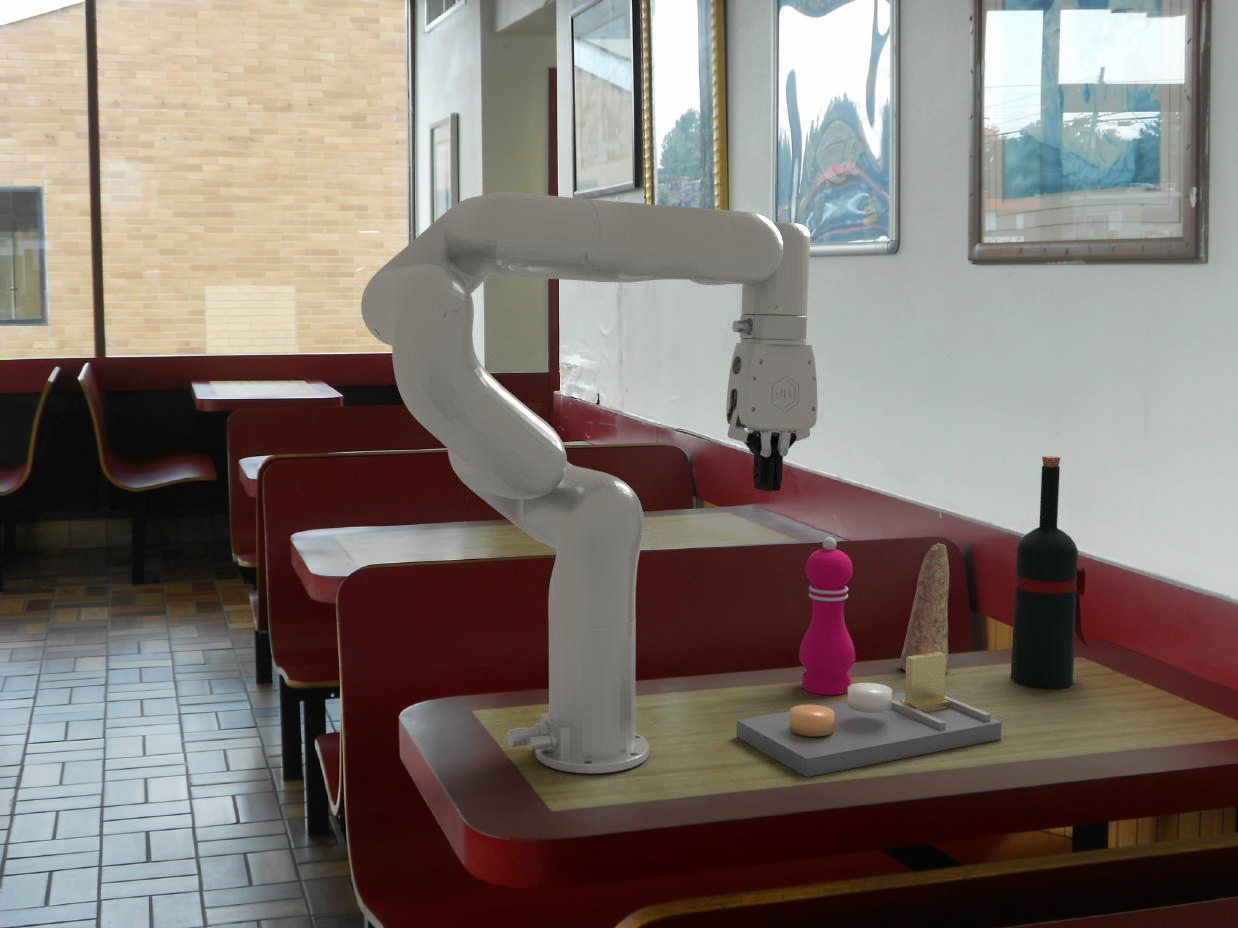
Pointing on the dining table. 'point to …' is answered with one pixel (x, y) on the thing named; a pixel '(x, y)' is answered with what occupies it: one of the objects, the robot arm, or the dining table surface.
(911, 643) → the brown speckled elongated rod
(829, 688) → the pepper mill
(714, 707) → the dining table surface
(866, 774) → the dining table surface
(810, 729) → the orange button
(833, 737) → the control panel
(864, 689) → the white knob
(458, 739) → the dining table surface
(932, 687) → the brass paddle
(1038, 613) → the wine bottle
